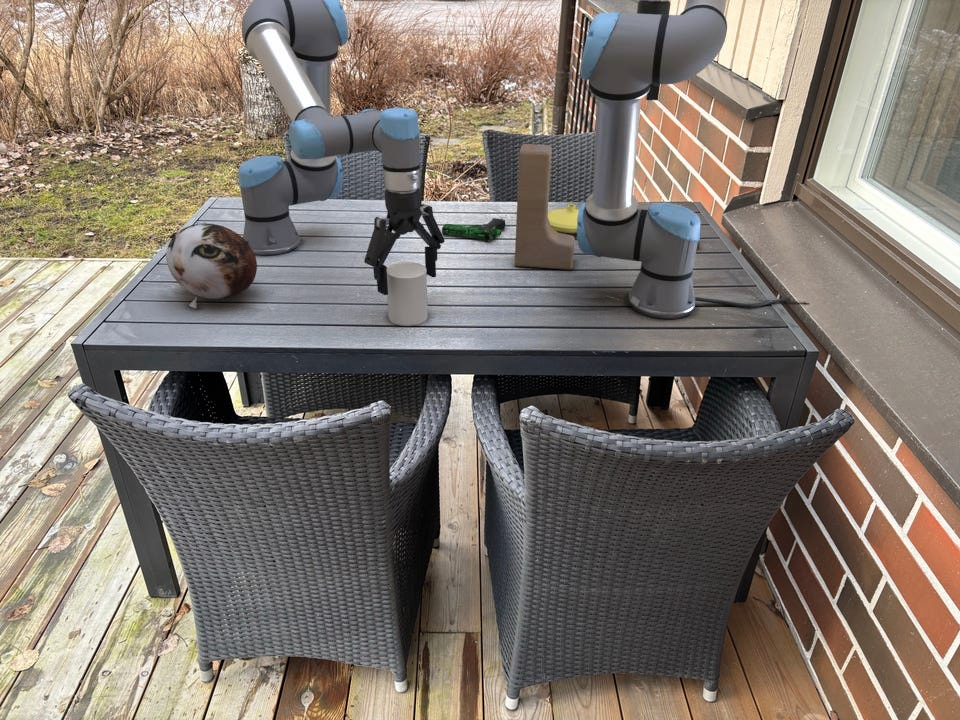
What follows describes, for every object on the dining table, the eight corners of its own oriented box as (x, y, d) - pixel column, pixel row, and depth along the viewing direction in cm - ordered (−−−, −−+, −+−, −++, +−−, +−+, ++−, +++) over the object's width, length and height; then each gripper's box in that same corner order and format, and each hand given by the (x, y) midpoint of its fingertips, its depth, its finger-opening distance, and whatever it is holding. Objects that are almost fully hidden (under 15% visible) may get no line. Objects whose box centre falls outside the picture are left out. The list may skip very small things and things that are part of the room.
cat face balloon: (130, 285, 161) (164, 203, 163) (192, 308, 177) (221, 233, 178) (195, 307, 151) (229, 220, 152) (254, 330, 166) (285, 250, 168)
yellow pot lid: (559, 216, 220) (561, 193, 217) (605, 227, 212) (608, 204, 209) (532, 230, 209) (533, 207, 206) (580, 242, 201) (582, 218, 198)
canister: (419, 328, 157) (418, 280, 151) (382, 322, 159) (379, 275, 153) (433, 311, 164) (432, 264, 158) (397, 305, 166) (395, 259, 160)
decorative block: (572, 270, 184) (582, 153, 169) (514, 266, 186) (519, 150, 171) (572, 259, 191) (582, 146, 175) (516, 255, 192) (521, 143, 177)
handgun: (511, 219, 210) (493, 234, 198) (511, 228, 211) (492, 244, 199) (461, 212, 215) (440, 226, 203) (461, 221, 217) (440, 236, 204)
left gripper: (364, 206, 136) (372, 306, 147) (459, 180, 152) (460, 273, 162) (341, 197, 141) (350, 295, 152) (436, 173, 156) (438, 264, 167)
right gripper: (623, -5, 178) (613, 85, 188) (657, 3, 156) (644, 104, 167) (652, -5, 178) (641, 85, 189) (690, 4, 157) (675, 104, 168)
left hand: (407, 284), depth 157 cm, fingers open, 13 cm apart
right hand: (642, 94), depth 178 cm, fingers open, 13 cm apart
